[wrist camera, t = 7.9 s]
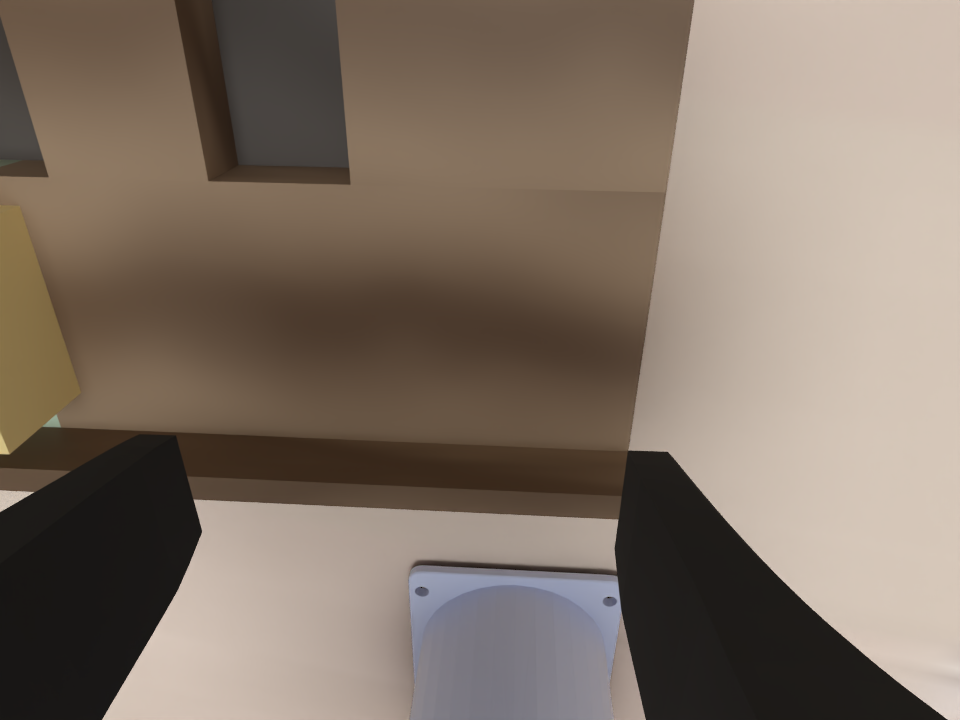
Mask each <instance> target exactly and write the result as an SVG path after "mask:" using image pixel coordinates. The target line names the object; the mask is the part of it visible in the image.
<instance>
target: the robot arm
mask: <svg viewBox="0 0 960 720" xmlns="http://www.w3.org/2000/svg"><path fill="white" fill-rule="evenodd" d="M201 533H202V529H201V526H200V522H199V518H198V515H197V511H196V507H195V504H194V500H193V496H192V492H191V489H190V485H189V481H188V478H187V474H186V470H185V467H184V463H183V459H182V456H181V452H180V448H179V445H178V441H177V437H176V435H151V434H139V435H137V436H134V437H132V438H130V439H128V440H126V441H124V442H122V443H120V444H118V445H116V446H115V447H113V448H111V449H109V450H107V451H105V452H104V453H102V454H100V455H98V456H97V457H95V458H93V459H91V460H90V461H88V462H86V463H84V464H83V465H81V466H79V467H77V468H76V469H74V470H72V471H71V472H69V473H67V474H65V475H64V476H62V477H60V478H59V479H57V480H55V481H53V482H52V483H50V484H48V485H46V486H45V487H43V488H41V489H40V490H38V491H36V492H34V493H33V494H31V495H29V496H27V497H26V498H24V499H22V500H21V501H19V502H17V503H15V504H14V505H12V506H10V507H8V508H7V509H5V510H3V511H1V512H0V720H102V719H103V717H104V715H105V714H106V712H107V710H108V708H109V707H110V705H111V703H112V702H113V700H114V698H115V697H116V695H117V693H118V692H119V690H120V688H121V686H122V685H123V683H124V681H125V680H126V678H127V676H128V675H129V673H130V671H131V670H132V668H133V666H134V664H135V663H136V661H137V659H138V658H139V656H140V654H141V653H142V651H143V649H144V648H145V646H146V644H147V642H148V641H149V639H150V637H151V636H152V634H153V632H154V631H155V629H156V627H157V625H158V624H159V622H160V620H161V618H162V617H163V615H164V613H165V612H166V610H167V608H168V606H169V605H170V603H171V601H172V599H173V597H174V596H175V594H176V592H177V590H178V588H179V586H180V584H181V582H182V579H183V577H184V575H185V573H186V570H187V568H188V566H189V563H190V561H191V559H192V556H193V553H194V551H195V548H196V546H197V543H198V541H199V538H200V536H201ZM615 557H616V567H617V576H614V575H603V574H583V573H564V572H544V571H524V570H505V569H485V568H466V567H446V566H427V565H420V566H416V567H414V568H412V570H411V571H410V575H409V580H408V582H409V598H410V615H411V632H412V649H413V666H414V683H415V688H414V694H413V701H412V707H411V713H410V720H614V715H613V707H612V699H611V692H610V678H611V672H612V666H613V660H614V654H615V648H616V642H617V636H618V630H619V624H620V618H621V611H622V616H623V620H624V625H625V629H626V634H627V638H628V643H629V647H630V652H631V656H632V661H633V665H634V670H635V674H636V678H637V683H638V687H639V691H640V696H641V700H642V705H643V709H644V713H645V718H646V720H947V719H946V718H944V717H943V716H942V715H940V714H939V713H938V712H936V711H935V710H934V709H932V708H931V707H930V706H929V705H927V704H926V703H925V702H923V701H922V700H921V699H919V698H918V697H917V696H915V695H914V694H913V693H911V692H910V691H909V690H907V689H906V688H905V687H903V686H902V685H901V684H900V683H898V682H897V681H896V680H895V679H893V678H892V677H891V676H890V675H888V674H887V673H886V672H885V671H883V670H882V669H881V668H880V667H878V666H877V665H876V664H875V663H873V662H872V661H871V660H870V659H869V658H868V657H866V656H865V655H864V654H863V653H862V652H861V651H859V650H858V649H857V648H856V647H855V646H854V645H852V644H851V643H850V642H849V641H848V640H847V639H845V638H844V637H843V636H842V635H841V634H839V633H838V632H837V631H836V630H835V629H834V628H832V627H831V626H830V625H829V624H828V623H827V622H826V621H824V620H823V619H822V618H821V617H820V616H819V615H818V614H817V613H816V612H815V611H813V610H812V609H811V608H810V607H809V606H808V605H807V604H806V603H805V602H804V601H803V600H802V599H801V598H800V597H799V596H798V595H797V594H796V593H795V592H794V591H793V590H791V589H790V588H789V587H788V586H787V585H786V584H785V583H784V582H783V581H782V580H781V579H780V578H779V577H778V576H777V575H776V574H775V573H774V572H773V571H772V570H771V569H770V568H769V567H768V566H767V565H766V564H765V562H764V561H763V560H762V559H761V558H760V557H759V556H758V555H757V554H756V553H755V552H754V551H753V550H752V549H751V548H750V546H749V545H748V544H747V543H746V542H745V541H744V540H743V539H742V538H741V537H740V536H739V534H738V533H737V532H736V531H735V530H734V529H733V528H732V527H731V526H730V525H729V523H728V522H727V521H726V520H725V519H724V518H723V517H722V515H721V514H720V513H719V512H718V511H717V510H716V509H715V507H714V506H713V505H712V504H711V503H710V501H709V500H708V499H707V498H706V497H705V496H704V494H703V493H702V492H701V491H700V490H699V488H698V487H697V486H696V485H695V484H694V482H693V481H692V480H691V479H690V478H689V476H688V475H687V474H686V473H685V472H684V470H683V469H682V468H681V467H680V465H679V464H678V463H677V462H676V461H675V460H674V458H673V457H672V456H671V455H670V454H669V453H668V452H654V451H628V453H627V460H626V468H625V475H624V483H623V490H622V498H621V505H620V513H619V520H618V528H617V535H616V543H615ZM420 587H425V588H420ZM606 597H612V598H606Z"/></svg>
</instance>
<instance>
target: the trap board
mask: <svg viewBox="0 0 960 720" xmlns="http://www.w3.org/2000/svg"><path fill="white" fill-rule="evenodd" d="M693 6H694V0H0V205H8V206H20V209H21V212H22V215H23V218H24V221H25V224H26V227H27V230H28V233H29V236H30V239H31V242H32V245H33V248H34V251H35V254H36V257H37V260H38V263H39V266H40V269H41V272H42V275H43V278H44V281H45V284H46V287H47V290H48V293H49V296H50V300H51V303H52V306H53V309H54V312H55V315H56V318H57V321H58V324H59V327H60V330H61V333H62V336H63V339H64V342H65V345H66V348H67V351H68V354H69V357H70V360H71V363H72V366H73V369H74V372H75V375H76V378H77V381H78V384H79V387H80V390H81V393H80V394H79V395H78V396H77V397H76V398H75V399H73V400H72V401H71V402H70V403H69V404H68V405H66V406H65V407H64V408H63V409H62V410H61V411H60V412H58V413H57V414H56V415H55V416H54V417H53V418H51V419H50V420H49V421H48V422H47V423H46V424H44V425H43V426H42V427H41V428H40V429H39V430H37V431H36V432H35V433H34V434H33V435H32V436H31V437H29V438H28V439H27V440H26V441H25V442H24V443H22V444H21V445H20V446H19V447H18V448H17V449H15V450H14V451H13V452H12V453H11V454H0V490H7V491H28V492H36V491H38V490H40V489H41V488H43V487H45V486H46V485H48V484H50V483H52V482H53V481H55V480H57V479H59V478H60V477H62V476H64V475H65V474H67V473H69V472H71V471H72V470H74V469H76V468H77V467H79V466H81V465H83V464H84V463H86V462H88V461H90V460H91V459H93V458H95V457H97V456H98V455H100V454H102V453H104V452H105V451H107V450H109V449H111V448H113V447H115V446H116V445H118V444H120V443H122V442H124V441H126V440H128V439H130V438H132V437H134V436H137V435H139V434H151V435H176V437H177V441H178V445H179V448H180V452H181V456H182V459H183V463H184V467H185V470H186V474H187V478H188V481H189V485H190V489H191V492H192V496H193V499H197V500H219V501H240V502H261V503H282V504H303V505H324V506H345V507H367V508H388V509H409V510H430V511H451V512H472V513H493V514H515V515H536V516H557V517H578V518H599V519H619V513H620V505H621V498H622V490H623V483H624V475H625V468H626V460H627V453H628V449H629V442H630V435H631V429H632V422H633V415H634V408H635V401H636V394H637V388H638V381H639V374H640V367H641V360H642V354H643V347H644V340H645V333H646V326H647V320H648V313H649V306H650V299H651V292H652V285H653V279H654V272H655V265H656V258H657V251H658V245H659V238H660V231H661V224H662V217H663V211H664V204H665V197H666V190H667V183H668V176H669V170H670V163H671V156H672V149H673V142H674V136H675V129H676V122H677V115H678V108H679V102H680V95H681V88H682V81H683V74H684V67H685V61H686V54H687V47H688V40H689V33H690V27H691V20H692V13H693Z"/></svg>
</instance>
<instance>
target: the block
mask: <svg viewBox="0 0 960 720" xmlns="http://www.w3.org/2000/svg"><path fill="white" fill-rule="evenodd" d="M80 393H81V390H80V387H79V384H78V381H77V378H76V375H75V372H74V369H73V366H72V363H71V360H70V357H69V354H68V351H67V348H66V345H65V342H64V339H63V336H62V333H61V330H60V327H59V324H58V321H57V318H56V315H55V312H54V309H53V306H52V303H51V300H50V296H49V293H48V290H47V287H46V284H45V281H44V278H43V275H42V272H41V269H40V266H39V263H38V260H37V257H36V254H35V251H34V248H33V245H32V242H31V239H30V236H29V233H28V230H27V227H26V224H25V221H24V218H23V215H22V212H21V209H20V206H8V205H0V454H11V453H12V452H13V451H14V450H15V449H17V448H18V447H19V446H20V445H21V444H22V443H24V442H25V441H26V440H27V439H28V438H29V437H31V436H32V435H33V434H34V433H35V432H36V431H37V430H39V429H40V428H41V427H42V426H43V425H44V424H46V423H47V422H48V421H49V420H50V419H51V418H53V417H54V416H55V415H56V414H57V413H58V412H60V411H61V410H62V409H63V408H64V407H65V406H66V405H68V404H69V403H70V402H71V401H72V400H73V399H75V398H76V397H77V396H78V395H79V394H80Z"/></svg>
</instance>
